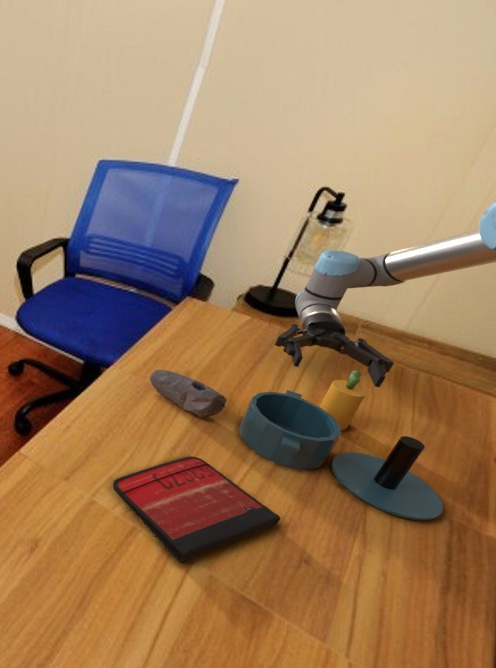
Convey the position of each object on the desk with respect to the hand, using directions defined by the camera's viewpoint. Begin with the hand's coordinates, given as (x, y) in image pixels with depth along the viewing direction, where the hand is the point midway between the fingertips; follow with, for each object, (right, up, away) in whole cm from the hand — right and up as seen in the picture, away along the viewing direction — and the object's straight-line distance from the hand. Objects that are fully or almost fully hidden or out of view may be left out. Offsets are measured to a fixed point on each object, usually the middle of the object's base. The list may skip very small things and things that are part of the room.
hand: (338, 371), depth 109 cm
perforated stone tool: (-33, -8, +3) cm, 34 cm away
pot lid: (-9, -17, -18) cm, 26 cm away
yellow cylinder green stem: (-4, -10, -3) cm, 11 cm away
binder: (-46, -20, -20) cm, 54 cm away
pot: (-19, -13, -8) cm, 24 cm away
